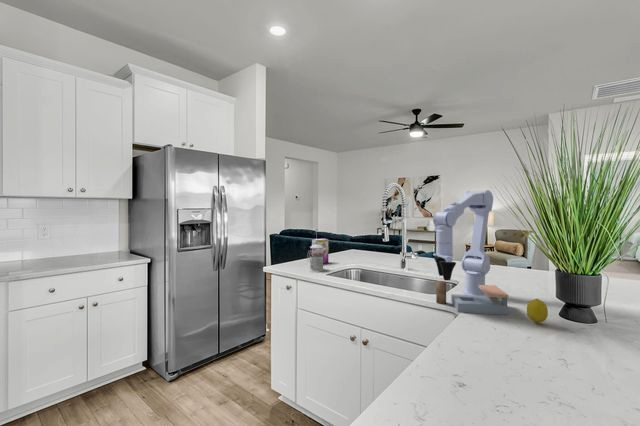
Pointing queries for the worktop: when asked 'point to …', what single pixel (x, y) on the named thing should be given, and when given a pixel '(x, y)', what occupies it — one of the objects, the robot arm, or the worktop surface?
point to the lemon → (537, 311)
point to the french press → (316, 258)
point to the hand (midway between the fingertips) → (444, 277)
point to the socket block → (482, 301)
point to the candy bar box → (322, 250)
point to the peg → (441, 292)
